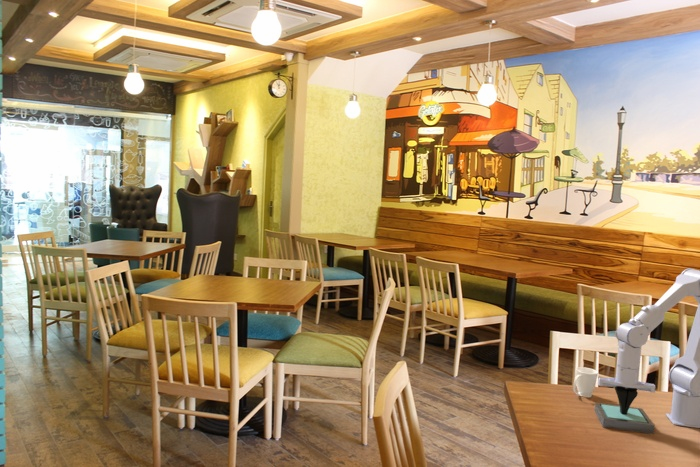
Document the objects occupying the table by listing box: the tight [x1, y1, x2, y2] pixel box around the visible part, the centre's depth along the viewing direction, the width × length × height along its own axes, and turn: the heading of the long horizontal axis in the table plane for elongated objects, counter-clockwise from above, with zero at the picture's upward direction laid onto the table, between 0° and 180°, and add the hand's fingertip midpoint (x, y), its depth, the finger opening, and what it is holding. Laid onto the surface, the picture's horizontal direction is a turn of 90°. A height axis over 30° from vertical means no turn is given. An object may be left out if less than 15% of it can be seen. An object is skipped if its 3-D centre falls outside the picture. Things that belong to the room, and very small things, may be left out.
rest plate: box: [601, 404, 648, 423], centre depth 163 cm, size 10×10×2 cm
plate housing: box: [594, 401, 655, 435], centre depth 163 cm, size 13×13×2 cm
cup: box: [572, 366, 599, 398], centre depth 183 cm, size 7×10×8 cm
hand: (623, 413), depth 163 cm, fingers closed, pressing on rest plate
